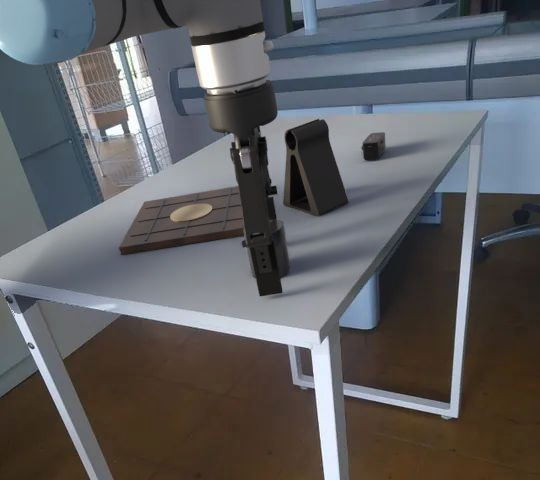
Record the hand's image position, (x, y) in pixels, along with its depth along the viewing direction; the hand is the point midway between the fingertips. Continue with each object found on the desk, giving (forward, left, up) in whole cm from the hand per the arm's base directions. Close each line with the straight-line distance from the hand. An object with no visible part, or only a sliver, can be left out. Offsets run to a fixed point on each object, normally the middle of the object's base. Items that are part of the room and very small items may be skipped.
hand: (271, 267), depth 69 cm
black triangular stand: (+7, +21, -1) cm, 22 cm away
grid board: (-13, +23, -1) cm, 26 cm away
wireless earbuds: (+19, +42, -1) cm, 46 cm away
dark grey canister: (0, 0, -1) cm, 1 cm away
